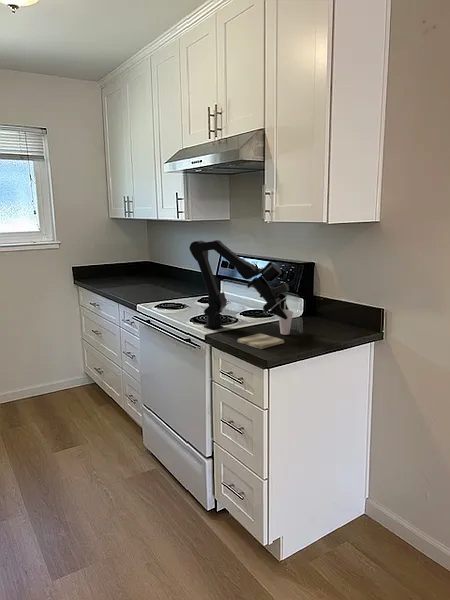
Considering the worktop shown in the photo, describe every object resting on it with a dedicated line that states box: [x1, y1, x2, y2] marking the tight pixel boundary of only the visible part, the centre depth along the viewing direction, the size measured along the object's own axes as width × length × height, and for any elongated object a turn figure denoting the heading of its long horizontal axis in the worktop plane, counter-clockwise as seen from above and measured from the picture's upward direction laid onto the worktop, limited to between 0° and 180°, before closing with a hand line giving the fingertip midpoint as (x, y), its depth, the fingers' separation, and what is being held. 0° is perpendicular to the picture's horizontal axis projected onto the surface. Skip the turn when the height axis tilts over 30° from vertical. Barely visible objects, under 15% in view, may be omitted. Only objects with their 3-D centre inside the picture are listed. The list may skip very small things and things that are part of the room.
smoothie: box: [278, 300, 294, 336], centre depth 190 cm, size 6×6×14 cm
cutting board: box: [236, 332, 285, 350], centre depth 180 cm, size 13×13×1 cm
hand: (288, 317), depth 189 cm, fingers closed on smoothie, 6 cm apart
